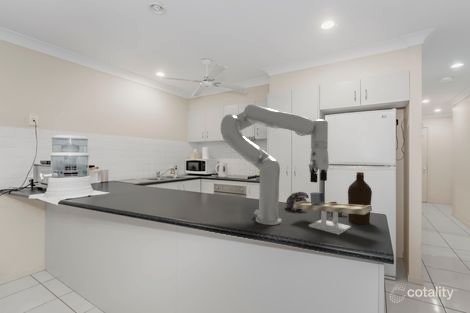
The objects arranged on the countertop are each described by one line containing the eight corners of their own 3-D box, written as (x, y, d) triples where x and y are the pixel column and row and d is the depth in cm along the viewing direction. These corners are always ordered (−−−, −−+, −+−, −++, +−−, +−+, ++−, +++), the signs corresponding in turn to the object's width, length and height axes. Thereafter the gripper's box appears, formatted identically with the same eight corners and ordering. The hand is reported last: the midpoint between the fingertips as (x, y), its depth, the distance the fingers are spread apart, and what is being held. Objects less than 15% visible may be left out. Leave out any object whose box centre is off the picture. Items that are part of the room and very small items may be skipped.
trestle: (308, 226, 107) (308, 208, 107) (321, 220, 116) (322, 204, 116) (338, 234, 97) (339, 214, 97) (350, 227, 106) (351, 209, 106)
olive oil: (375, 225, 111) (377, 173, 111) (355, 225, 110) (356, 173, 110) (361, 218, 122) (363, 171, 121) (342, 218, 121) (344, 171, 120)
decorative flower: (279, 191, 144) (302, 185, 144) (283, 207, 147) (305, 201, 147) (285, 202, 130) (311, 195, 130) (289, 220, 134) (314, 213, 133)
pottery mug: (326, 217, 125) (322, 202, 128) (326, 220, 133) (322, 206, 136) (350, 213, 122) (344, 198, 126) (348, 217, 130) (343, 203, 134)
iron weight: (311, 205, 111) (310, 193, 111) (315, 204, 114) (314, 192, 114) (320, 206, 107) (319, 193, 108) (324, 204, 111) (323, 192, 111)
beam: (293, 210, 114) (293, 203, 114) (304, 206, 122) (304, 200, 122) (363, 217, 91) (363, 208, 91) (372, 212, 98) (371, 204, 99)
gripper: (318, 145, 102) (317, 183, 102) (334, 146, 114) (334, 180, 114) (302, 145, 107) (302, 182, 107) (320, 146, 119) (319, 179, 119)
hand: (318, 181), depth 111 cm, fingers open, 9 cm apart
